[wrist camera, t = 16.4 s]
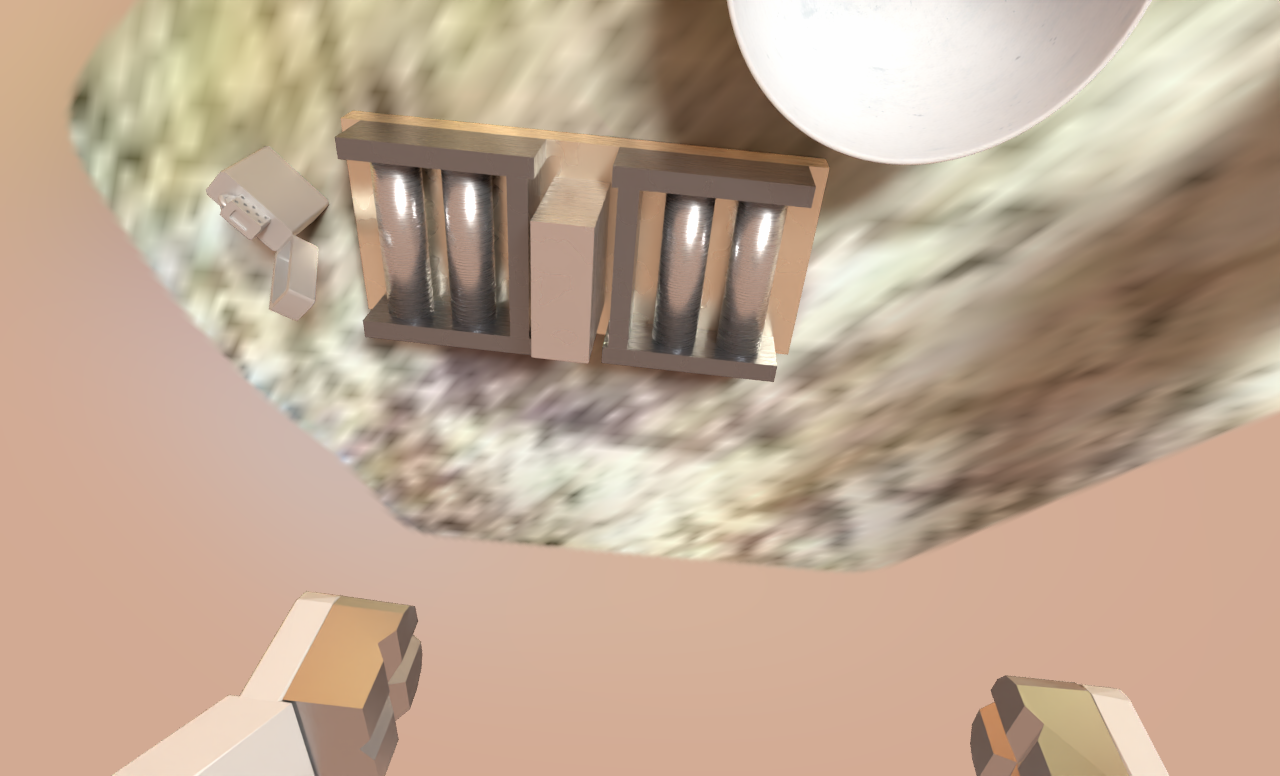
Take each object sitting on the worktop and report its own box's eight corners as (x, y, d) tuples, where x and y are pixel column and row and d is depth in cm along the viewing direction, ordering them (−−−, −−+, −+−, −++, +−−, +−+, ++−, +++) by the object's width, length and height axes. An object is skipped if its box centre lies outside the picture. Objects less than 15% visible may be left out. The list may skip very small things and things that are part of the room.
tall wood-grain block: (610, 182, 37) (594, 227, 32) (603, 305, 41) (588, 363, 36) (554, 176, 37) (530, 220, 32) (553, 300, 41) (531, 357, 36)
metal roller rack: (825, 158, 37) (838, 189, 33) (785, 340, 43) (792, 383, 39) (352, 110, 37) (313, 134, 34) (378, 296, 43) (347, 334, 40)
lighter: (249, 165, 40) (156, 220, 33) (266, 144, 39) (175, 196, 32) (355, 260, 42) (289, 328, 36) (373, 242, 42) (309, 308, 35)
